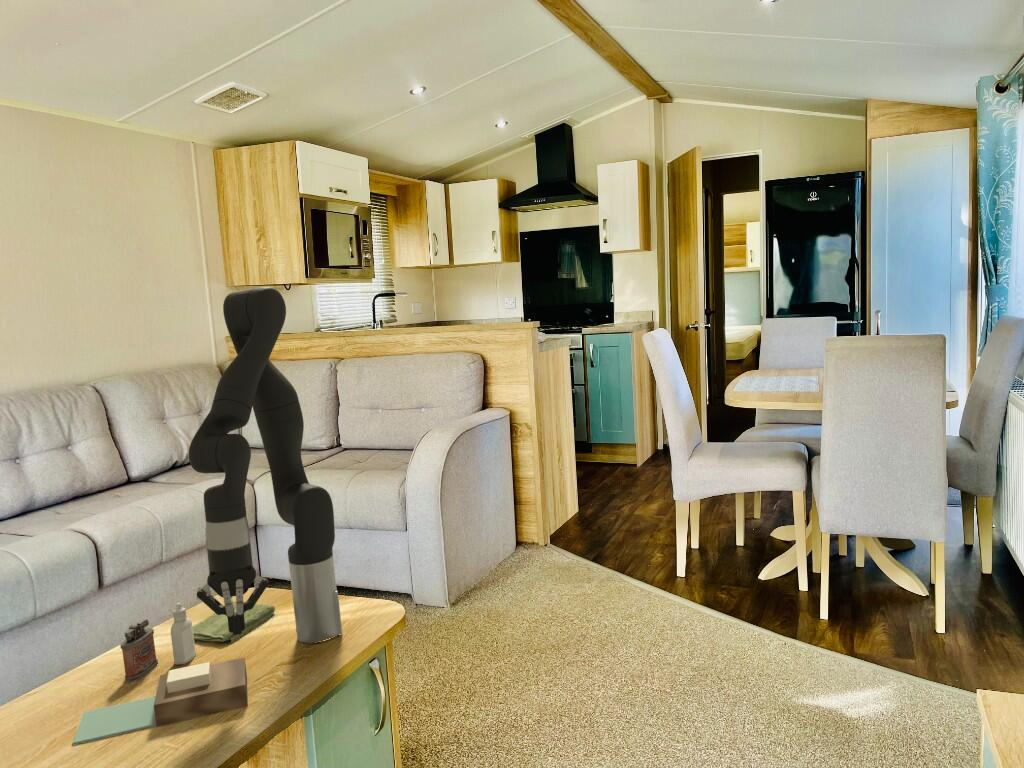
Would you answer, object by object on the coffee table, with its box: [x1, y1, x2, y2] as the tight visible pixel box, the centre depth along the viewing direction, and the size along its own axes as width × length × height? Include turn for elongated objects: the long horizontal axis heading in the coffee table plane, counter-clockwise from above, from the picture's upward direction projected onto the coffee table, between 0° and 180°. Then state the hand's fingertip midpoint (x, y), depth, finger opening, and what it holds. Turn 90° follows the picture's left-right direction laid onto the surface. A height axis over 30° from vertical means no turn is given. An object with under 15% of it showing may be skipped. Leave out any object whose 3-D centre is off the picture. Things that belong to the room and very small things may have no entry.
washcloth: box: [192, 600, 276, 643], centre depth 174 cm, size 13×18×3 cm
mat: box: [71, 695, 156, 746], centre depth 136 cm, size 13×11×1 cm
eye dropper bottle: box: [170, 602, 197, 666], centre depth 158 cm, size 4×6×12 cm
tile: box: [167, 661, 211, 693], centre depth 139 cm, size 7×5×2 cm
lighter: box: [119, 618, 159, 683], centre depth 154 cm, size 8×3×10 cm, turn 168°
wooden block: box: [154, 657, 249, 728], centre depth 140 cm, size 15×12×4 cm
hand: (237, 633), depth 142 cm, fingers closed
